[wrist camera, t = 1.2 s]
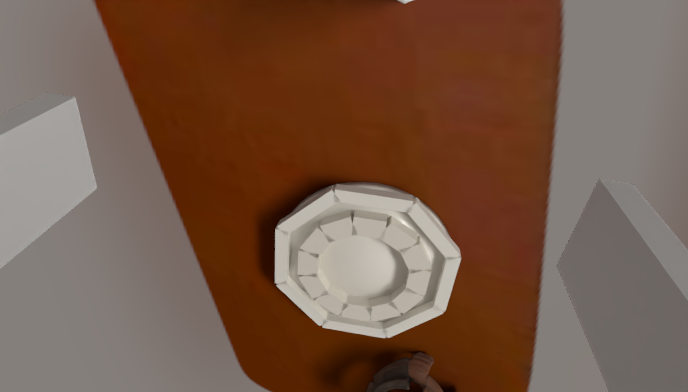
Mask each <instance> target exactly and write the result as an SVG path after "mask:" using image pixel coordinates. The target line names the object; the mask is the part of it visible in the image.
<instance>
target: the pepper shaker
mask: <svg viewBox="0 0 688 392" xmlns="http://www.w3.org/2000/svg"><path fill="white" fill-rule="evenodd" d="M398 1H400V2H402V3H404V4H405V3H408V2H410V1H413V0H398Z"/></svg>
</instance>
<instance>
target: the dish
mask: <svg viewBox="0 0 688 392" xmlns="http://www.w3.org/2000/svg"><path fill="white" fill-rule="evenodd" d="M460 260H461V255H460V249H459V248H458V246H457V245H456V244H455V243H454V242H453V240H452V239H451V238H450V236H449V233H448V231H447V229H446V227H445V225H444V224H443V222H442V221H441V220H440V218H439V217H438V216H437V214H436V213H435V212H434V211H433V210H432V209H431V208H430V207H429V206H427V205H426V204H425V203H424V202H422V201H421V200H419V199H418V198H417V197H415V196H413V195H411V194H409V193H407V192H405V191H403V190H401V189H398V188H395V187H392V186H389V185H384V184H380V183H373V182H347V183H340V184H336V185H332V186H329V187H326V188H324V189H321V190H319V191H317V192H315V193H313V194H311V195H310V196H308V197H307V198H306V199H304V200H303V201H302V202H300V203H299V204H298V206H297V207H296V208H295V209H294V210H293V211H292V213H290V214H289V215H287V216H286V217H284V218H283V219H281V220H280V221H279V223H278V224H277V227H276V229H275V283H277V285H276V286H277V287H278V288H279V289H280V290H281V291H282V292H283V293H284V294H286V295H287V296H288V297H289V298H290V299H291V300H292V301H293V302H294V303H295V304H296V305H297V306H298V307H299V308H301V309H302V310H303V311H304V312H305V313H306V314H307V315H308V316H309V317H310V318H311V319H312V320H313V321H314V322H316V323H317V324H318V325H319V326H321V325H322V328H328V329H334V330H340V331H345V332H351V333H357V334H363V335H369V336H374V337H380V338H385V337H386V336H387V337H388V338H390V337H392V336H394V335H396V334H399V333H401V332H403V331H405V330H408V329H410V328H412V327H414V326H417V325H419V324H421V323H423V322H426V321H428V320H430V319H432V318H434V317H437V316H439V315H441V314H443V311H446V308H447V304H448V301H449V297H450V294H451V291H452V287H453V284H454V281H455V277H456V274H457V270H458V267H459V264H460Z"/></svg>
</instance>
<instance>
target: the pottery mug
mask: <svg viewBox="0 0 688 392" xmlns="http://www.w3.org/2000/svg"><path fill="white" fill-rule="evenodd" d="M433 364H434V360H433V357H431V356H429V355H427V354H425V353H422V352H417V353H416V354H413V355H412V357H411V359H409V358H408V357H405V358H402V359H400V360H397V361H395V362H393V363H391V364H389V365H387V366H385V367H384V368H382V369H381V370H380V371H378V372H377V373H376V374H375V375H374V381H373V382H370V383H369V385H368V387H367V390H366V392H387V391H389V390H393V389H406V390H409V388H410V382H411V381H412V382H414V383H416V384H419V385H420V386H421V387H422V388H423V392H443V390H442V389H441V387H440V386H439V385H438V384H437V382H436V381H435V380H434V379H433V378H432V377H431V376H429V375H428V374H429V371H430V367H431V366H432V365H433Z"/></svg>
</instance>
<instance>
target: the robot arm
mask: <svg viewBox="0 0 688 392" xmlns="http://www.w3.org/2000/svg"><path fill="white" fill-rule="evenodd" d="M96 188H97V185H96V181H95V177H94V173H93V168H92V165H91V160H90V156H89V152H88V148H87V143H86V140H85V135H84V131H83V127H82V123H81V118H80V114H79V110H78V106H77V102H76V98H75V97H72V96H66V95H59V94H52V93H45V94H43V95H41V96H39V97H36V98H34V99H32V100H30V101H28V102H25V103H24V104H21V105H19V106H17V107H15V108H12V109H10V110H8V111H6V112H4V113H1V114H0V269H1V268H2V267H3V266H4V265H5V264H6V263H8V262H9V261H10V260H11V259H13V258H14V257H15V256H16V255H17V254H19V253H20V252H21V251H22V250H23V249H25V248H26V247H27V246H28V245H29V244H31V243H32V242H33V241H34V240H35V239H37V238H38V237H39V236H40V235H41V234H42V233H44V232H45V231H46V230H47V229H49V228H50V227H51V226H52V225H53V224H55V223H56V222H57V221H58V220H59V219H60V218H62V217H63V216H64V215H66V214H67V213H68V212H69V211H70V210H71V209H72V208H74V207H75V206H76V205H78V204H79V203H80V202H81V201H82V200H83V199H85V198H86V197H87V196H88V195H89V194H91V193H92V192H93V191H94V190H96ZM557 268H558V270H559V272H560V275H561V277H562V280H563V282H564V285H565V287H566V289H567V292H568V294H569V297H570V299H571V301H572V304H573V306H574V309H575V311H576V313H577V316H578V318H579V321H580V323H581V326H582V328H583V330H584V333H585V335H586V337H587V340H588V342H589V345H590V347H591V350H592V352H593V354H594V357H595V359H596V362H597V364H598V366H599V369H600V371H601V374H602V376H603V379H604V381H605V383H606V386H607V388H608V390H609V392H688V250H687V248H686V247H685V246H684V245H683V244H682V242H681V241H680V240H679V239H678V238H677V236H676V235H675V234H674V233H673V232H672V230H671V229H670V228H669V227H668V226H667V224H666V223H665V222H664V221H663V220H662V218H661V217H660V216H659V215H658V214H657V213H656V211H655V210H654V209H653V208H652V207H651V205H650V204H649V203H648V202H647V201H646V199H645V198H644V197H643V196H642V195H641V193H640V192H639V191H638V190H637V189H636V187H635V186H634V185H633V184H631V183H625V182H619V181H612V180H605V179H599V180H598V182H597V184H596V186H595V188H594V190H593V192H592V194H591V196H590V198H589V200H588V202H587V205H586V207H585V209H584V211H583V213H582V215H581V217H580V219H579V221H578V223H577V225H576V227H575V229H574V231H573V233H572V235H571V237H570V239H569V241H568V243H567V245H566V247H565V249H564V251H563V253H562V255H561V257H560V260H559V261H558V264H557Z"/></svg>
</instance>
